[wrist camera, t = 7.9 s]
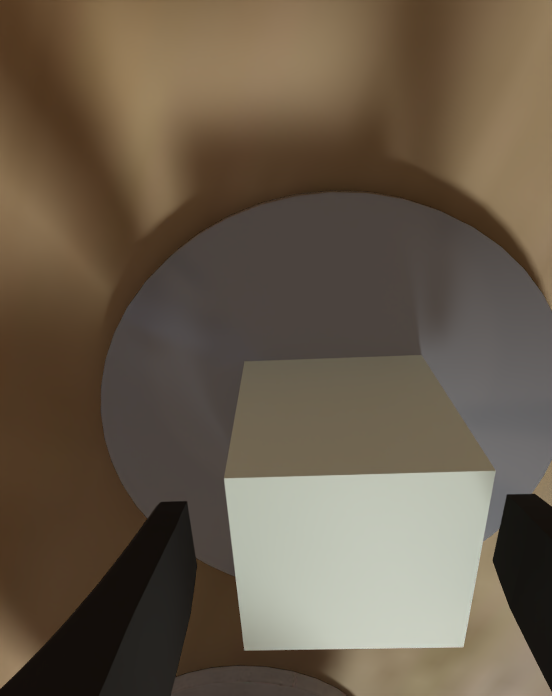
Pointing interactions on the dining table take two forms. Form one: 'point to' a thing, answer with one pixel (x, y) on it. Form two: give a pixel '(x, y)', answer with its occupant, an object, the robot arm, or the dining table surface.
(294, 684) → the mate gourd
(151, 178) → the dining table surface
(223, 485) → the plate
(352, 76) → the dining table surface
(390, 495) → the cube
